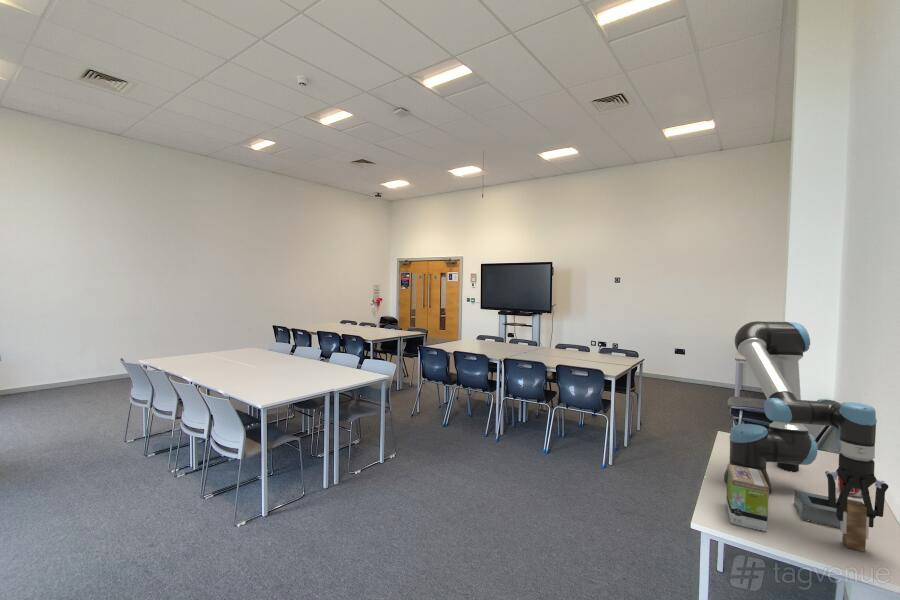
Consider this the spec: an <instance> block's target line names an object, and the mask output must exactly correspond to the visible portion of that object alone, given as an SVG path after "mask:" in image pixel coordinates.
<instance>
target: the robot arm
mask: <svg viewBox="0 0 900 600" xmlns="http://www.w3.org/2000/svg"><path fill="white" fill-rule="evenodd" d="M810 338H811V337H810V335H809V332H808V330H807V329H806V327H805V326H804V325H802V324H800V323H798V322H792V321H758V320H757V321H750V322H747V323H745V324H744V325H742V326H741V327H740V328H739V329H738V330H737V331H736V334H735V336H734V345H735V349H736V351H737V353H738V355H740V356H742V357H743V358H744V359H745V361H746V363H747V364H748V366H749V368H750V370H751V372H752V374H753V376H754V377H755V379H756V382H757V383H758V384H759V386H760V389H761V390H762V392H763V394H764V396H765V397H766V400H765V401H764V404H763V409H764V414H765V416H766V418H767V419H769V420H770V421H771V423H770V424H769V425H768V429H767V428H766V427H765V426H763V425H761V424H760V425H759V424H753V423H752V424H751V423H740V424H736V425H734V426H732V427H731V428H730V435H729V463H728V464H730V465H736V466H741V467H746V468H752V469H757V470H761V472H762V474H763V476H764V478H765V480H766V482H767V484H768V487H769V495H770V494H771V493H772V491H773V490H772V488H773V486H772V481H771V480H770V477H769V474H768V472H767V463H776V464H777V463H787V464H794V465H799V466H809V465H811V464H813V462H815V460H816V458H817V456H818V452H819V451H818V443H817V441H816V438H815V437H814V436H813V434H810V433H809V429H808V428H807V427H806V426H804V425H814V426H825V427H826V426H827V427H828V426H829V427H833V428H835V429H838V430H839V443H838V444H839V446H838V451H839V452H840V453H838V467H837V469H836V471H832V472H831V471H828V470H827V471H825V472H824V473H825V476H826V478H827V496H828V502H829V504H830V505H831V506H832V507H835V508H836V517H837V519H838V520H839V521H841V524H840V528H839V529H840V530H841V533H842V535H843V534H846V533H847V512H846V510H845V509H844V508H845V505H846V502H847V499H849V497H850V496H849V493H850V491H851V489H852V488H858V489H860V490H861V494H862V496H861V498H862V503H863V504H864V505H865V506H866V508H867V517H866V540H869V537H870V536H869V534H870V533H869V531H870V530H869V529H870V528H872V529H873V528H874V526H875V525H874V523H875V520H874V519H876V517H880V518H882V517H884V510H885V497H886V492H887V490H888V488H889V484H887V483H886V481H884V480H879V479H877V477H876V475H875V467H876V466H875V463H876V462H875V461H874V460H875V458H876V455H875V454H876V453H875V451H876V433H877V422H878V421H877V416H876V415H877V414H876V409H875V408H874V407H873V406H871V405H869V404H864V403H860V402H851V401H849V402H848V401H846V402H842V403H840V402H838V401H836V400H833V399H830V398H829V399H828V398H820V399H818V400H806V399H802V396H801V382H800V381H801V380H800V366H799V365H800V364H799V363H800V362H799V361H800V360H801V359H803V358H804V353H805V352H808V350H809V349H810V346H811V339H810ZM723 475H724V476H723V481H724V483H725V484H726V485H727V468H726V470H725V472H724V474H723ZM838 476H839V477H840V478H841V480H842V481H843V483H842V488H841V491H840V490H839V491H840V492H839V495H838V497H837V495H836V493H837V490H836V487H837V486H836V481H838ZM873 484H874V486H875V488H876V489H875V495H874V496H875V497H874V506H873V504H872V501H871V496H870V490H869V488H870V487H871V486H872V485H873ZM836 497H837V498H838V500H837V503H836ZM873 507H874V508H873Z"/></svg>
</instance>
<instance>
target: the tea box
mask: <svg viewBox="0 0 900 600" xmlns="http://www.w3.org/2000/svg"><path fill="white" fill-rule="evenodd" d="M726 469H727V484H726V498H725V499H726V502H725V503H726V504H725V505H726V508H727V512H728V517H729V521H730V524H732V525H733V524H734V525H735V526H740V527H745V528H748V529H752V528H753V530H756V529H757V531H760V530H762V532H765V531H766V532H767V531H768V522H769V521H768V516H769V495H770V494H769V487H768V484H767V482H766V480H765V478H764V476H763V474H762V472H761V470H757V469H752V468H746V467H741V466H736V465H730V464H729V463H728V464H727V468H726Z"/></svg>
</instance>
